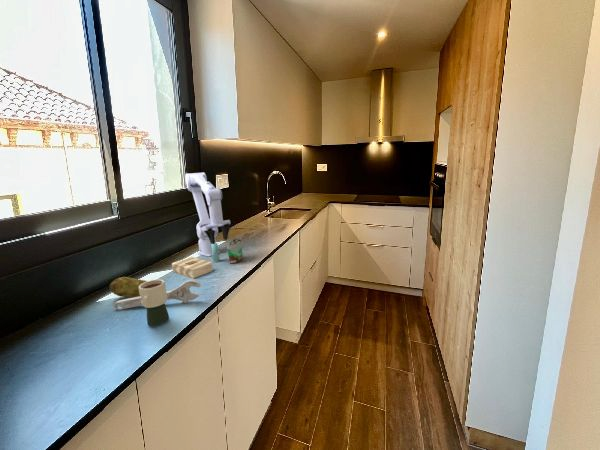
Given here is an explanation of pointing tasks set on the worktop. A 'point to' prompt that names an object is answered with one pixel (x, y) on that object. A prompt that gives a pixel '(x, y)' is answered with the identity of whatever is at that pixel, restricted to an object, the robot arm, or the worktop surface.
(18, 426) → the worktop surface
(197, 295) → the wrench
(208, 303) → the worktop surface
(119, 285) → the potato
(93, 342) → the worktop surface
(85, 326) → the worktop surface
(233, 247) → the food container
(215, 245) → the peg
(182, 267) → the hole block
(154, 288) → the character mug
